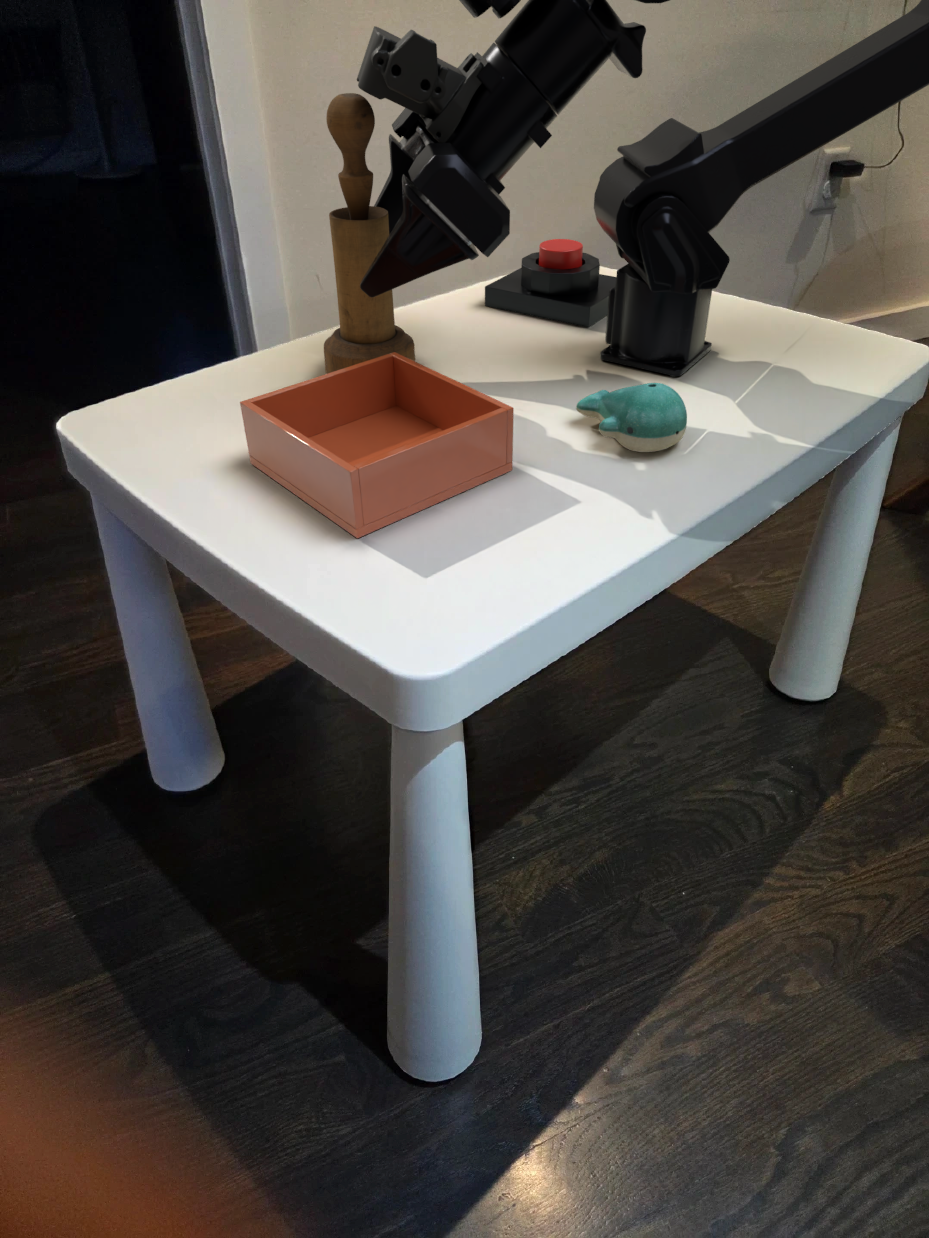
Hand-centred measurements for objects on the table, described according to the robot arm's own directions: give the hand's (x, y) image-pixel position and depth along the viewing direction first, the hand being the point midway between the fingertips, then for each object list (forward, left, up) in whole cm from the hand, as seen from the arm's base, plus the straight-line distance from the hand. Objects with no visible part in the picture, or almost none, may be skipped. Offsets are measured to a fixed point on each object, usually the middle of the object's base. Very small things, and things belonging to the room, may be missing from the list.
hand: (362, 270), depth 63 cm
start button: (-4, -21, -4) cm, 22 cm away
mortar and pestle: (0, 0, -8) cm, 8 cm away
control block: (-4, -21, -7) cm, 22 cm away
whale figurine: (-20, -1, -8) cm, 22 cm away
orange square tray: (-9, +11, -7) cm, 16 cm away
